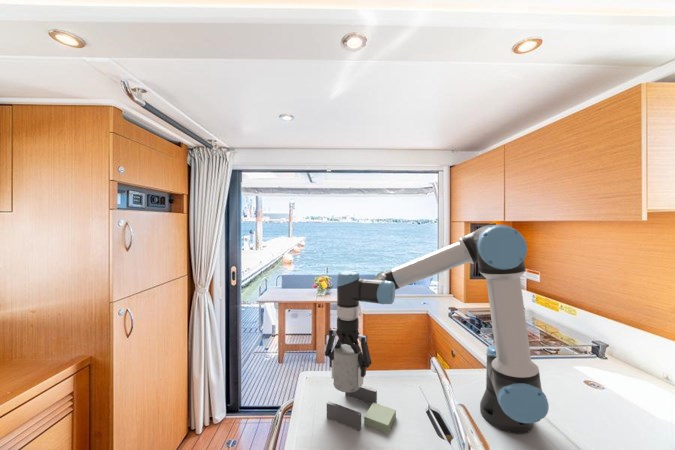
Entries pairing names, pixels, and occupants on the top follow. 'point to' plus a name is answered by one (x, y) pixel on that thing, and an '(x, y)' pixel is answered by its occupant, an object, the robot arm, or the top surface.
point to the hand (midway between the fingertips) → (347, 380)
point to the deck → (380, 417)
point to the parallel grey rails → (349, 415)
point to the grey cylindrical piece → (346, 369)
